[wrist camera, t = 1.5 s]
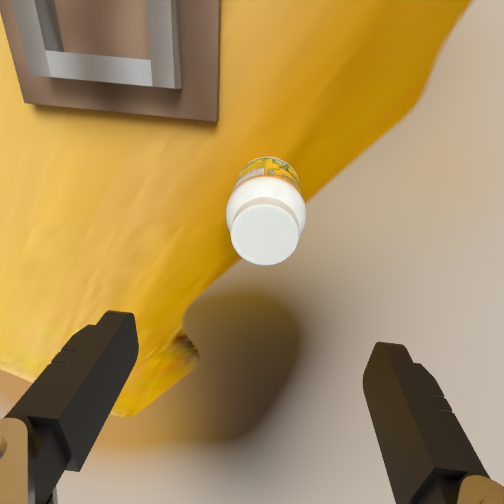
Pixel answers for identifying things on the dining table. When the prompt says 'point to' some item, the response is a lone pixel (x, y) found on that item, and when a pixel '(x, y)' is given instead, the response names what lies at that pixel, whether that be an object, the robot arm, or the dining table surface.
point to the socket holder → (118, 54)
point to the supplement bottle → (266, 211)
